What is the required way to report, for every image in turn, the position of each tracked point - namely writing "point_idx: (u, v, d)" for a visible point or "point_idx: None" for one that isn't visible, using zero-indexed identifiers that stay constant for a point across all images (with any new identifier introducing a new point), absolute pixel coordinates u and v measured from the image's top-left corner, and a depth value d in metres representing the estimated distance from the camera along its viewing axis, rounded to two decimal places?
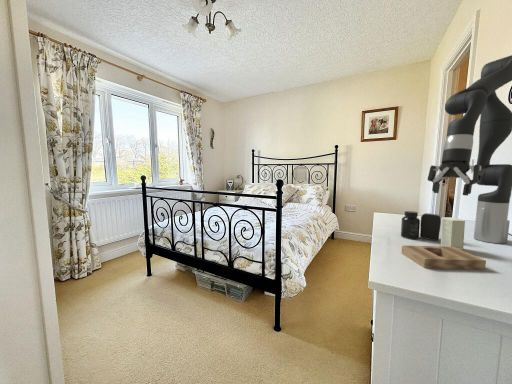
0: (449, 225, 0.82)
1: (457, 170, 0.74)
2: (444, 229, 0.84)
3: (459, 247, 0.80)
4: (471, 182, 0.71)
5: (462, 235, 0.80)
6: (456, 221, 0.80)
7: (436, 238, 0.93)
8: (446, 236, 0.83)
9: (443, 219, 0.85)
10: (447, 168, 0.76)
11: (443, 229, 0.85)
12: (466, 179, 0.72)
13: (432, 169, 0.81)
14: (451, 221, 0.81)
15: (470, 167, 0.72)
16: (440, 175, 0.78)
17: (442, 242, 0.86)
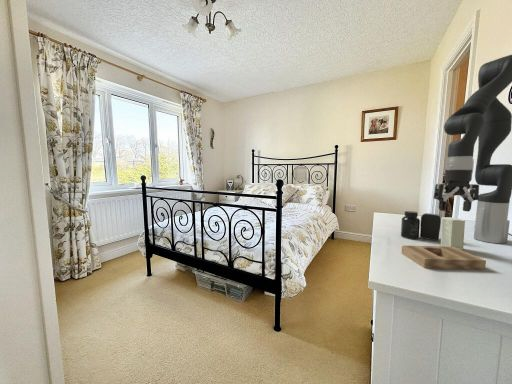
0: (449, 225, 0.82)
1: (466, 189, 0.79)
2: (444, 229, 0.84)
3: (459, 247, 0.80)
4: None
5: (462, 235, 0.80)
6: (456, 221, 0.80)
7: (436, 238, 0.93)
8: (446, 236, 0.83)
9: (443, 219, 0.85)
10: (458, 188, 0.79)
11: (443, 229, 0.85)
12: (470, 197, 0.80)
13: (442, 188, 0.81)
14: (451, 221, 0.81)
15: (470, 186, 0.80)
16: (451, 194, 0.80)
17: (442, 242, 0.86)
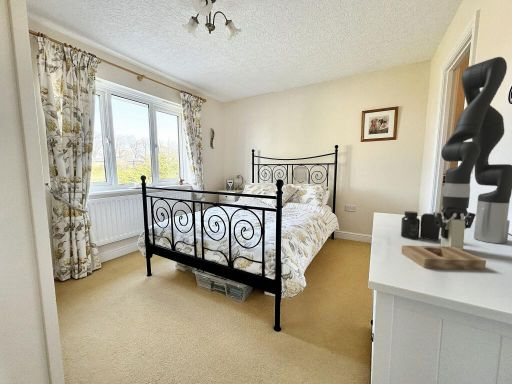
0: (449, 225, 0.82)
1: (462, 216, 0.80)
2: None
3: (459, 247, 0.80)
4: (465, 227, 0.82)
5: (462, 235, 0.80)
6: (456, 221, 0.80)
7: (436, 238, 0.93)
8: None
9: None
10: (455, 214, 0.81)
11: None
12: None
13: (440, 216, 0.82)
14: (451, 221, 0.81)
15: (467, 213, 0.82)
16: None
17: (442, 242, 0.86)
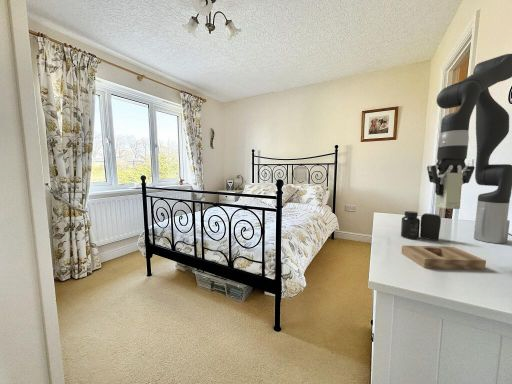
0: (445, 179, 0.72)
1: (459, 169, 0.71)
2: None
3: (455, 204, 0.71)
4: (462, 183, 0.72)
5: (459, 190, 0.70)
6: (452, 174, 0.70)
7: (436, 238, 0.93)
8: None
9: None
10: (451, 166, 0.71)
11: None
12: None
13: (435, 169, 0.72)
14: (447, 174, 0.71)
15: (465, 166, 0.72)
16: None
17: (437, 201, 0.76)
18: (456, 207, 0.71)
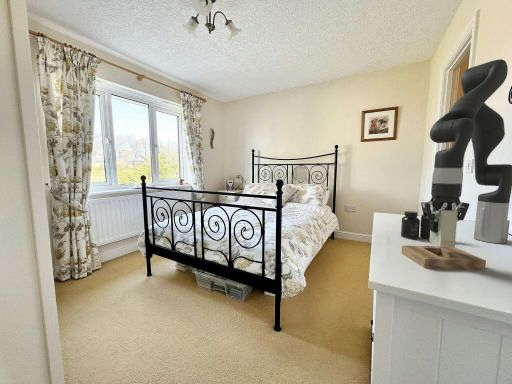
0: (439, 216, 0.70)
1: (454, 206, 0.69)
2: None
3: (450, 242, 0.69)
4: (457, 220, 0.70)
5: (454, 228, 0.68)
6: (447, 212, 0.69)
7: None
8: None
9: None
10: (445, 204, 0.69)
11: None
12: None
13: (429, 207, 0.70)
14: (441, 212, 0.69)
15: (460, 203, 0.70)
16: None
17: (431, 237, 0.74)
18: (451, 246, 0.69)
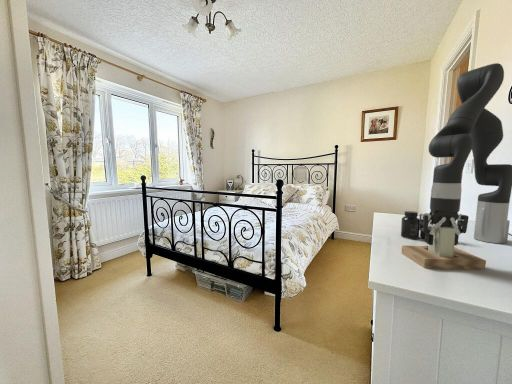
0: (438, 233, 0.71)
1: (453, 221, 0.69)
2: None
3: None
4: (459, 232, 0.71)
5: (452, 245, 0.69)
6: (445, 229, 0.69)
7: None
8: (434, 246, 0.72)
9: None
10: (444, 218, 0.70)
11: None
12: (457, 230, 0.70)
13: (427, 219, 0.71)
14: (440, 229, 0.70)
15: (459, 216, 0.71)
16: (438, 226, 0.70)
17: None
18: None
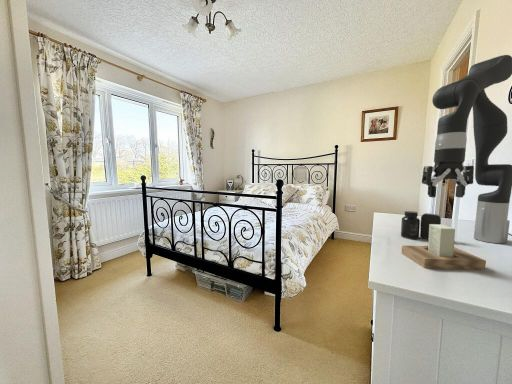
0: (437, 233, 0.71)
1: (458, 172, 0.68)
2: (432, 238, 0.74)
3: None
4: None
5: (452, 245, 0.69)
6: (445, 229, 0.69)
7: None
8: (434, 246, 0.72)
9: (430, 226, 0.74)
10: (449, 170, 0.68)
11: (430, 238, 0.74)
12: (464, 181, 0.69)
13: (431, 170, 0.69)
14: (439, 229, 0.70)
15: (464, 168, 0.69)
16: (441, 178, 0.69)
17: None
18: None
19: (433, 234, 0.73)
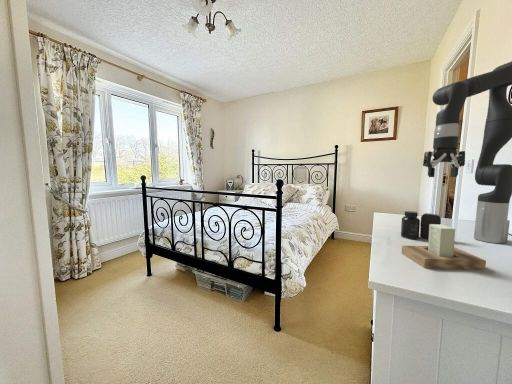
0: (437, 233, 0.71)
1: (452, 156, 0.84)
2: (432, 238, 0.74)
3: None
4: None
5: (452, 245, 0.69)
6: (445, 229, 0.69)
7: None
8: (434, 246, 0.72)
9: (430, 226, 0.74)
10: (445, 154, 0.84)
11: (430, 238, 0.74)
12: (457, 163, 0.85)
13: (430, 155, 0.85)
14: (439, 229, 0.70)
15: (457, 153, 0.85)
16: (439, 160, 0.85)
17: None
18: None
19: (433, 234, 0.73)
